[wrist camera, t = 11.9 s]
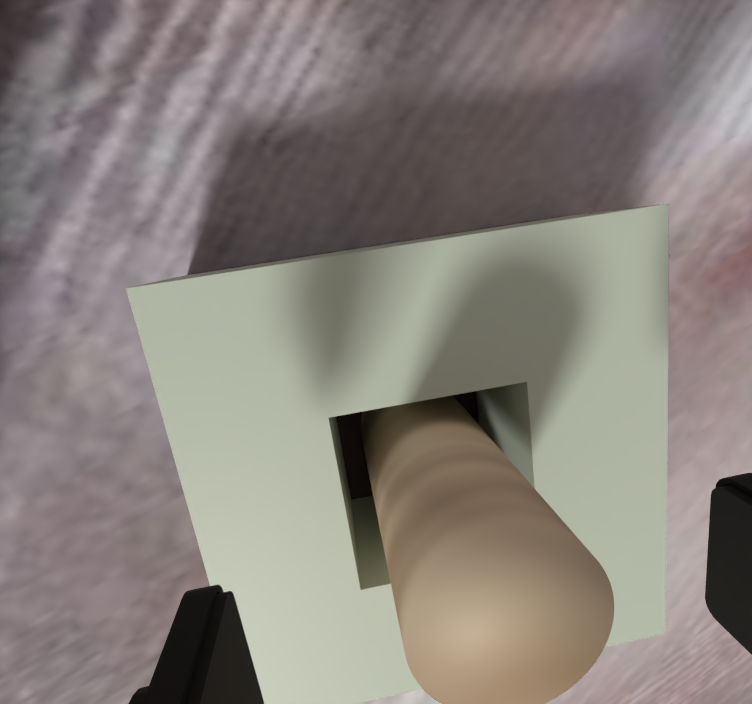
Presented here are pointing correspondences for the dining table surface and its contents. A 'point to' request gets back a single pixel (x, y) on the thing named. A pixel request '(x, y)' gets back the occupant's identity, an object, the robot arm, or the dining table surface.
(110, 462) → the dining table surface
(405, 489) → the maple peg
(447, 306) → the socket block
